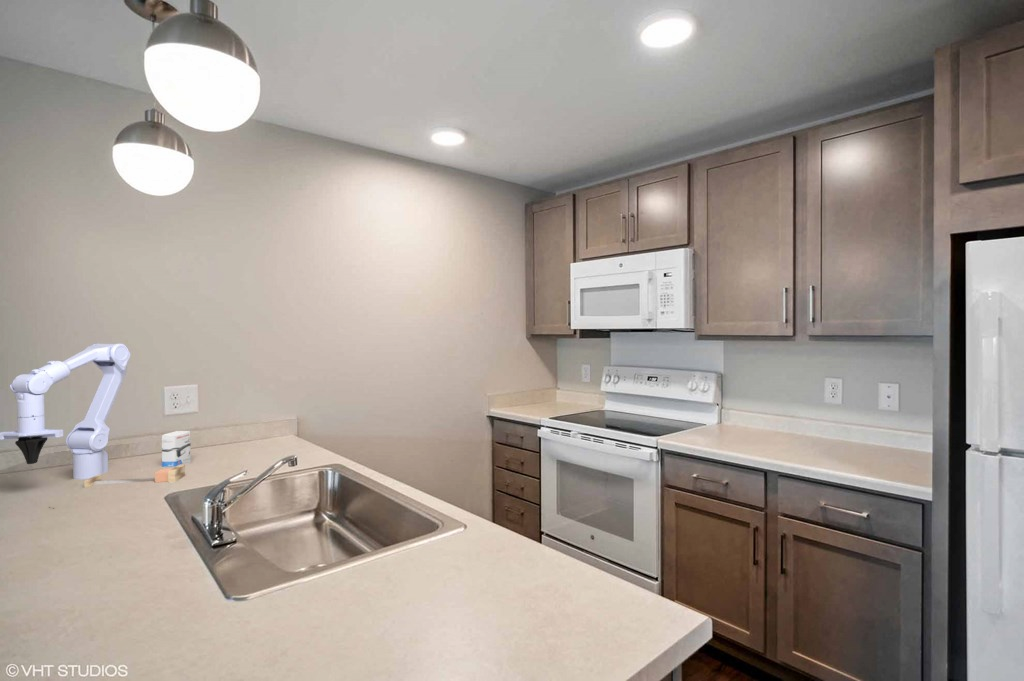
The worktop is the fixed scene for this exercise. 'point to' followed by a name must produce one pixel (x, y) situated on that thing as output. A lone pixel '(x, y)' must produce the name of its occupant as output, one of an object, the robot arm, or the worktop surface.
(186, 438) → the ink box
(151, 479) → the rail board
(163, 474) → the block
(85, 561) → the worktop surface
